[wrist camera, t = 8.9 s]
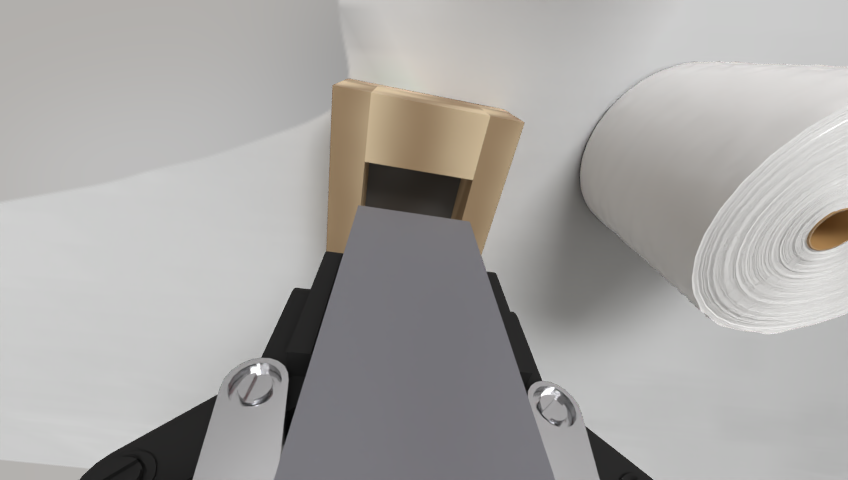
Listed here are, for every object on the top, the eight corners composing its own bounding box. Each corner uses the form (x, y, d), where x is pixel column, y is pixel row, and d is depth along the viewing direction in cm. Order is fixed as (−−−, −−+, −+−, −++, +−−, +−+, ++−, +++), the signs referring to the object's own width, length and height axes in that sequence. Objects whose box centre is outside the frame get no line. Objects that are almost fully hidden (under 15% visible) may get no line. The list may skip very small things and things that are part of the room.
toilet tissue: (564, 109, 19) (693, 158, 10) (791, 12, 17) (1194, -29, 8) (589, 249, 24) (690, 360, 15) (766, 188, 22) (997, 277, 13)
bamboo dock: (503, 109, 19) (524, 122, 15) (456, 273, 25) (463, 309, 21) (348, 78, 18) (332, 85, 14) (337, 257, 24) (324, 293, 20)
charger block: (469, 221, 12) (576, 546, 4) (445, 302, 14) (488, 616, 7) (358, 205, 12) (253, 543, 4) (350, 291, 14) (274, 620, 6)
